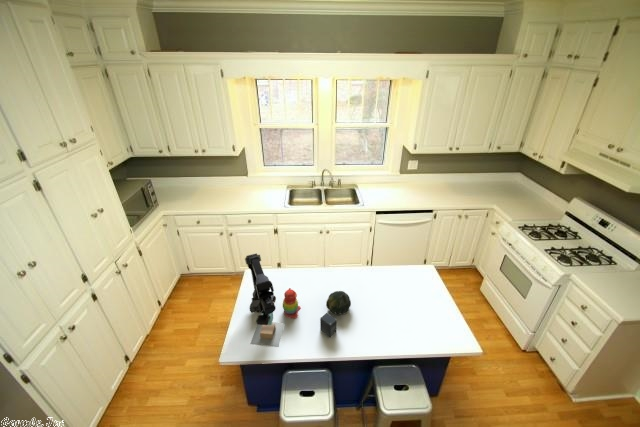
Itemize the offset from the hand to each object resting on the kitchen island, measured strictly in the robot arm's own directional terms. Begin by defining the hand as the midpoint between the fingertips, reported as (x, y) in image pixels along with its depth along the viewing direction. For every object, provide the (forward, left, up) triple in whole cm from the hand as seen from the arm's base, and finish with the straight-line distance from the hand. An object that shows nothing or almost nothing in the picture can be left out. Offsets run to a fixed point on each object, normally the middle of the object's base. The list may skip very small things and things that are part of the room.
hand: (267, 320), depth 163 cm
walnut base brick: (0, -1, -11) cm, 11 cm away
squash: (-23, +38, -12) cm, 46 cm away
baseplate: (0, -1, -12) cm, 12 cm away
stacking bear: (-17, +9, -12) cm, 23 cm away
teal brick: (0, 0, -1) cm, 1 cm away
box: (-6, +33, -12) cm, 36 cm away
